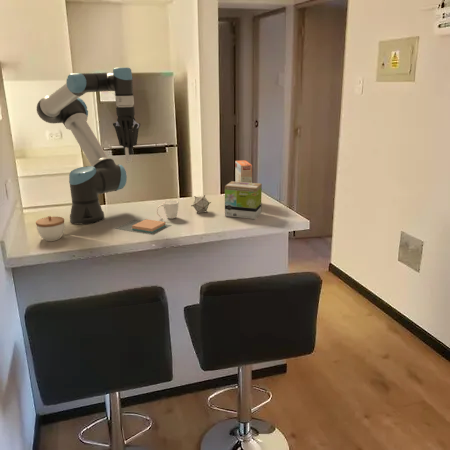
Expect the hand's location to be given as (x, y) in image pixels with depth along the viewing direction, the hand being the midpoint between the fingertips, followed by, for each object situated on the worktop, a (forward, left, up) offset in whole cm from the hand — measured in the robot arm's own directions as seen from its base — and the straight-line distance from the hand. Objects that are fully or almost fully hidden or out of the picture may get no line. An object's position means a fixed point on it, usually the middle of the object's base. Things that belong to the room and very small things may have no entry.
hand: (129, 162), depth 206 cm
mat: (+11, -8, -26) cm, 30 cm away
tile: (+9, -8, -25) cm, 28 cm away
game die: (+22, +23, -27) cm, 41 cm away
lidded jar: (-15, -34, -27) cm, 46 cm away
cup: (+14, +7, -27) cm, 31 cm away
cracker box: (+34, +45, -27) cm, 62 cm away
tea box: (+42, +27, -27) cm, 57 cm away
